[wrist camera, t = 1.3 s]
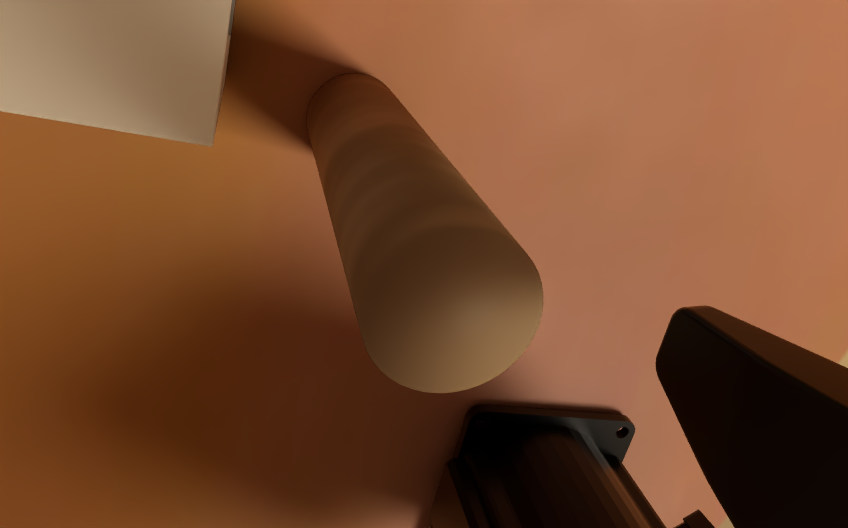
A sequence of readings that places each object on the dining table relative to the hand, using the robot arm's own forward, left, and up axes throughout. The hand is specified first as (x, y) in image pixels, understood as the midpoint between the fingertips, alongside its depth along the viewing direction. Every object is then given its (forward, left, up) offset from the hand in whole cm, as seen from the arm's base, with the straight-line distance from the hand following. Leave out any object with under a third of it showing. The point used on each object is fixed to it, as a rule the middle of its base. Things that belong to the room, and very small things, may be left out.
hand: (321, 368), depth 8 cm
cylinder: (-2, 0, -13) cm, 13 cm away
